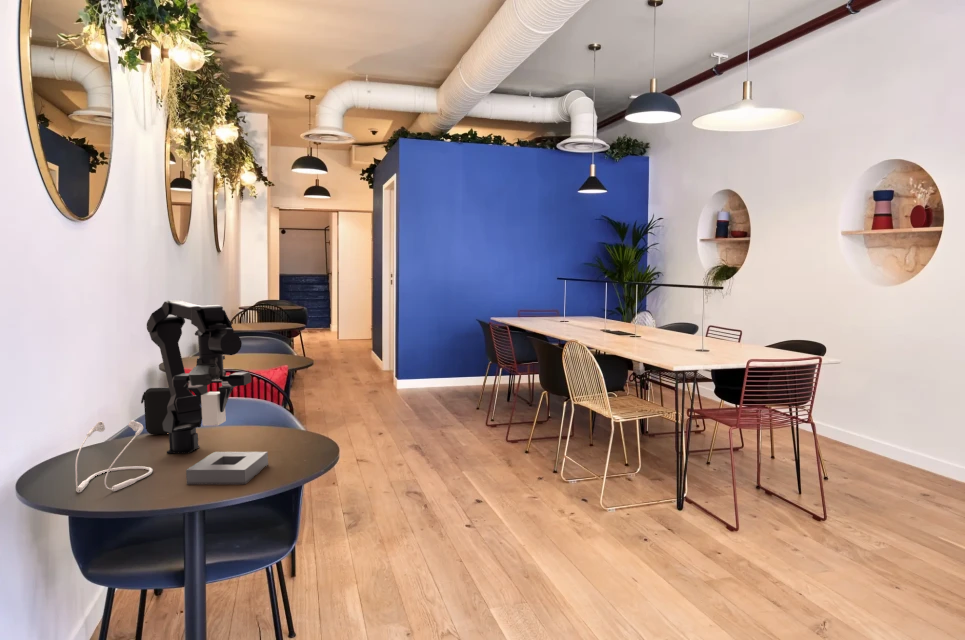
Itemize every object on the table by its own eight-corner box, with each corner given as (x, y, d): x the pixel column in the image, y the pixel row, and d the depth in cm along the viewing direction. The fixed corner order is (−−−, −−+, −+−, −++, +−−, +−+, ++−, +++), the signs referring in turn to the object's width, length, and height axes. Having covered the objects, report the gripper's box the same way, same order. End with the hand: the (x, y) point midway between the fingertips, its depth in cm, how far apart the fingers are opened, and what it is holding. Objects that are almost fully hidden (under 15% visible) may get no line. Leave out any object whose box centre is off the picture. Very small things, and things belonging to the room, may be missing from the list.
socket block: (186, 484, 150) (186, 469, 150) (214, 465, 165) (214, 451, 165) (245, 484, 150) (244, 469, 150) (268, 465, 165) (267, 451, 165)
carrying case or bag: (140, 436, 195) (138, 389, 194) (145, 433, 198) (142, 387, 197) (177, 435, 196) (174, 388, 195) (180, 432, 199) (178, 386, 198)
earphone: (54, 481, 141) (86, 416, 154) (85, 519, 153) (112, 455, 166) (118, 480, 142) (144, 415, 155) (143, 517, 154) (165, 453, 166)
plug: (202, 425, 165) (200, 395, 164) (213, 420, 171) (211, 390, 171) (217, 425, 165) (216, 395, 164) (228, 420, 171) (226, 390, 171)
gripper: (159, 357, 158) (162, 419, 159) (233, 356, 158) (236, 418, 159) (181, 352, 169) (184, 410, 170) (250, 351, 169) (253, 409, 170)
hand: (213, 412), depth 167 cm, fingers closed on plug, 4 cm apart
